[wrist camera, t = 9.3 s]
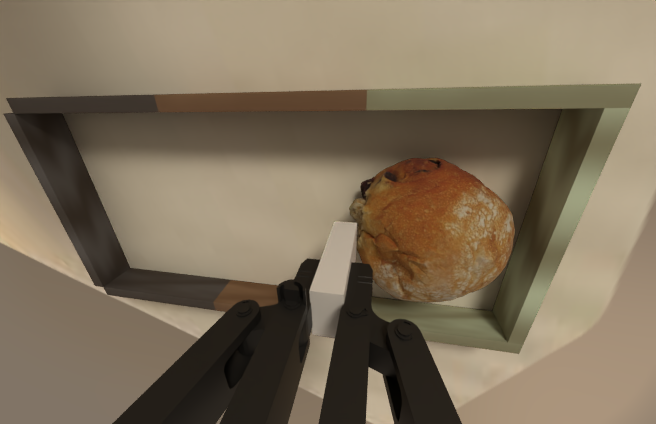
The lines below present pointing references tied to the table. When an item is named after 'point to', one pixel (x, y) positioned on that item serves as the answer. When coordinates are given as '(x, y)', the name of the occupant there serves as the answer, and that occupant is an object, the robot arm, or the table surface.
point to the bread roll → (431, 231)
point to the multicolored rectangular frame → (554, 180)
